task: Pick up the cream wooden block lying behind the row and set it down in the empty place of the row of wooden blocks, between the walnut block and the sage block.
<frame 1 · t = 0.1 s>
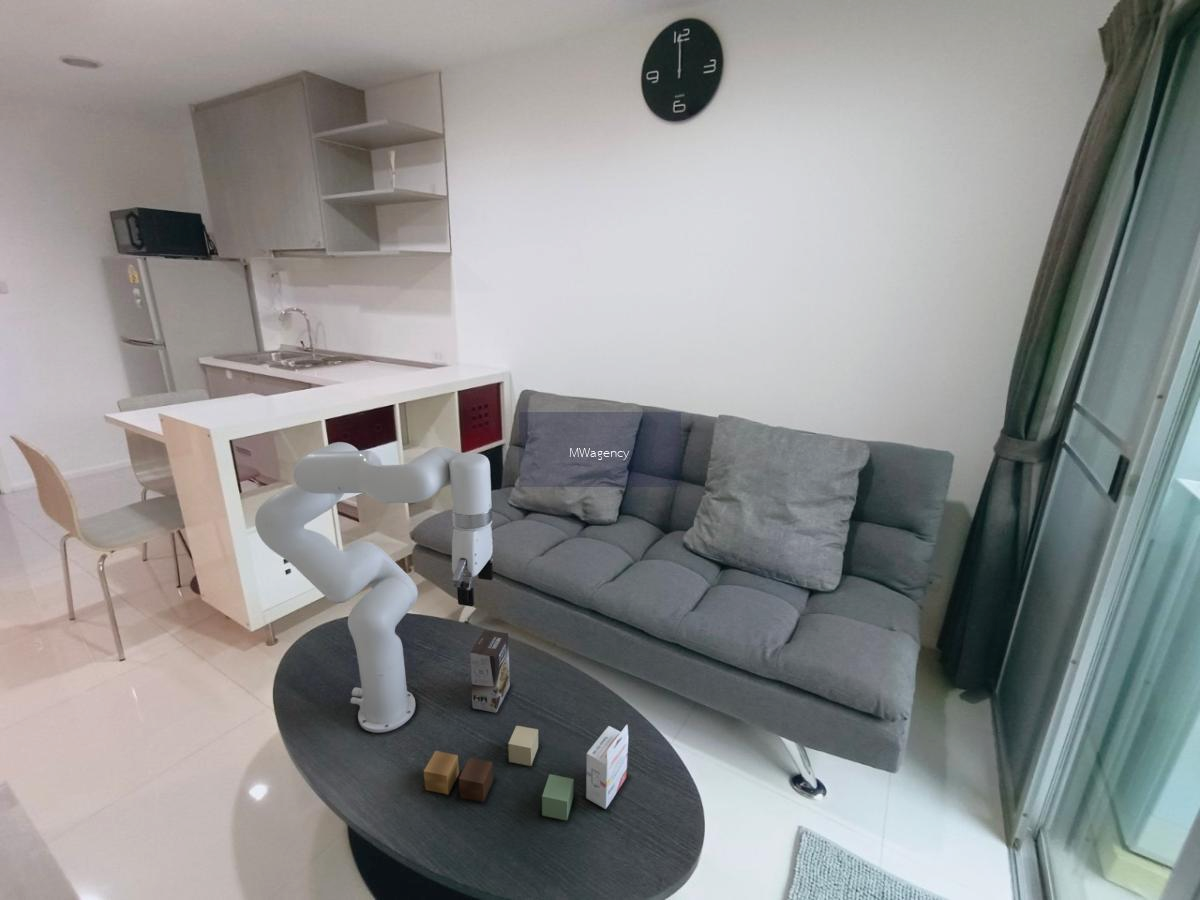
hand: (476, 591, 113), 37 cm above the table, tool pointing down, fingers open, 9 cm apart
cream block: (523, 754, 119), on the table
ink cartridge box: (606, 788, 112), on the table
sage block: (557, 806, 108), on the table
coffee box: (491, 697, 135), on the table
honey block: (442, 781, 113), on the table
walnut block: (476, 788, 111), on the table
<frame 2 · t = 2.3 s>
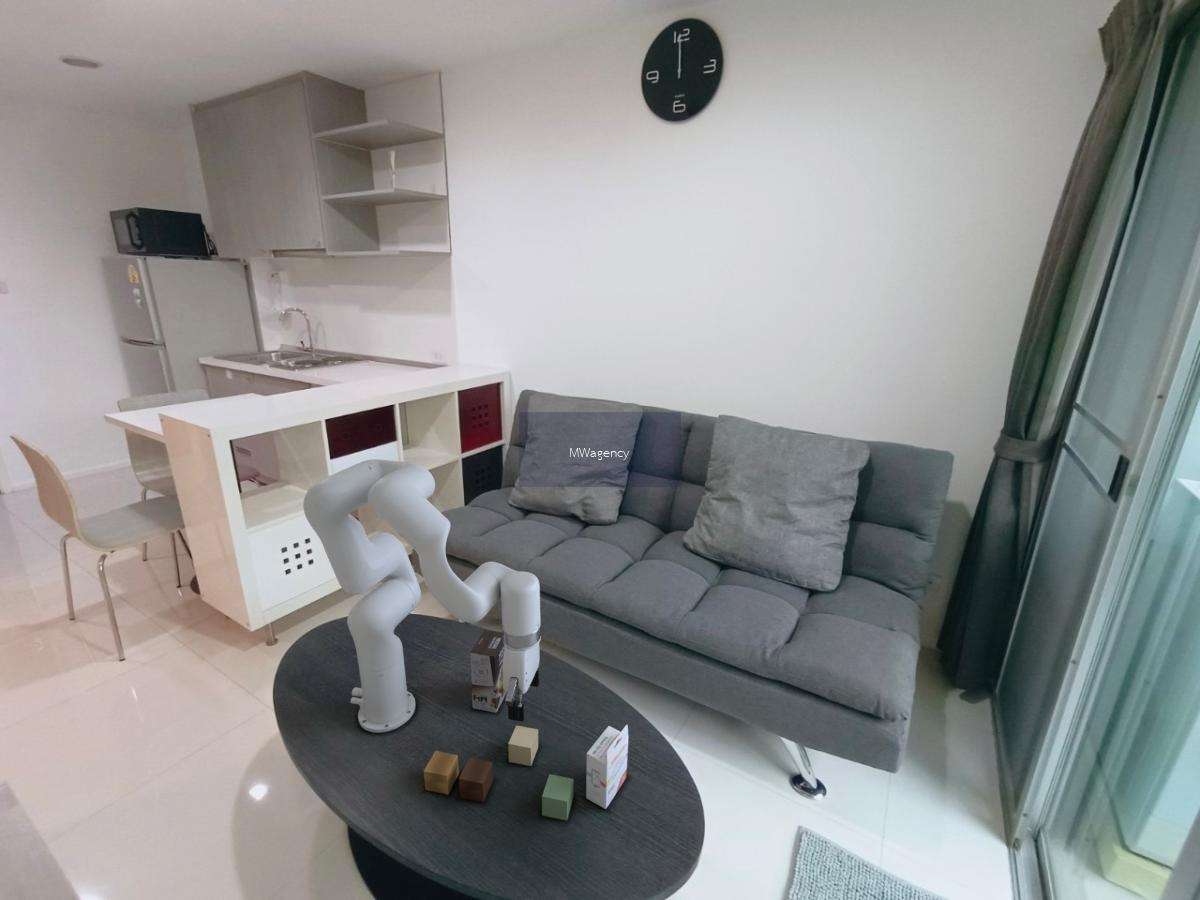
hand: (524, 701, 115), 14 cm above the table, tool pointing down, fingers open, 9 cm apart
nothing on the table moved.
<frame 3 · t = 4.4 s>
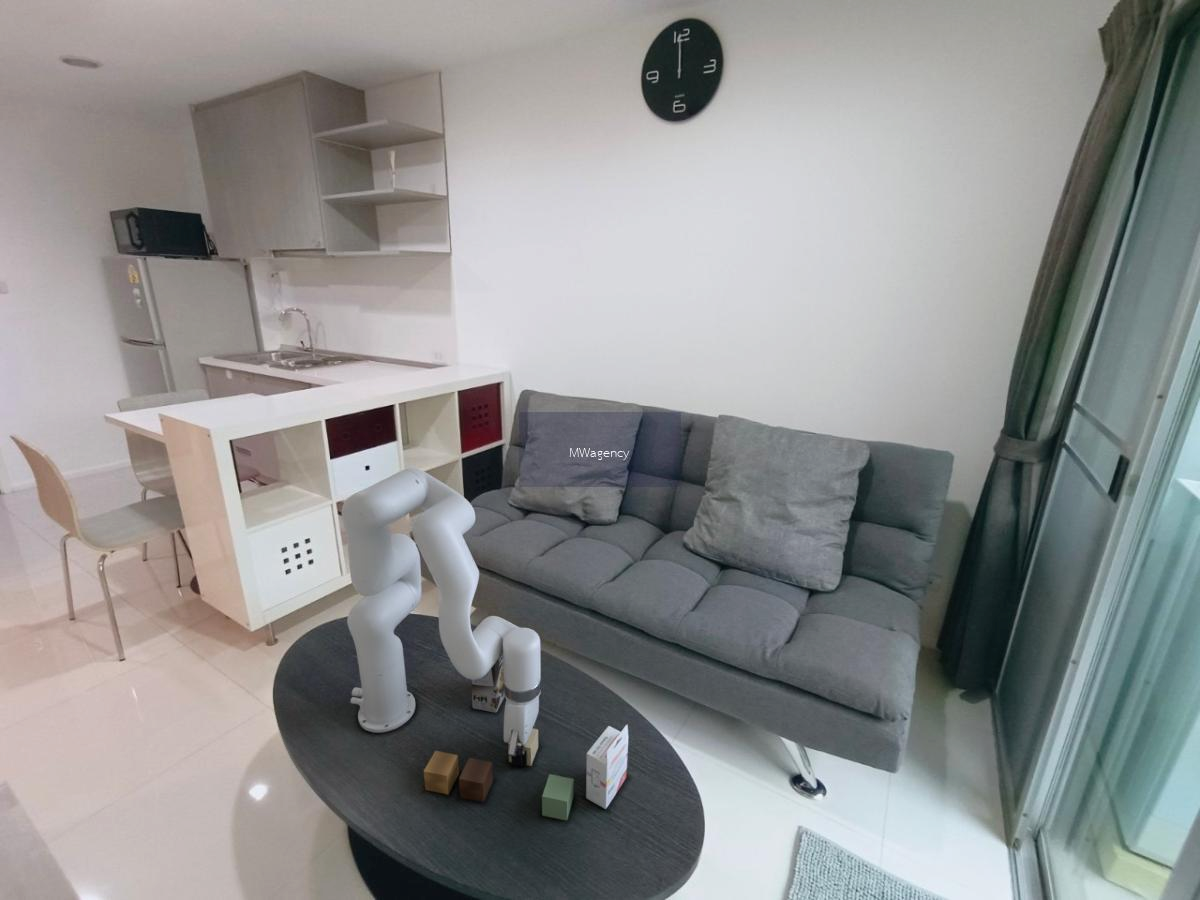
hand: (523, 752, 119), 0 cm above the table, tool pointing down, fingers closed on cream block, 5 cm apart
cream block: (523, 754, 119), on the table, touching gripper
everything else where it was.
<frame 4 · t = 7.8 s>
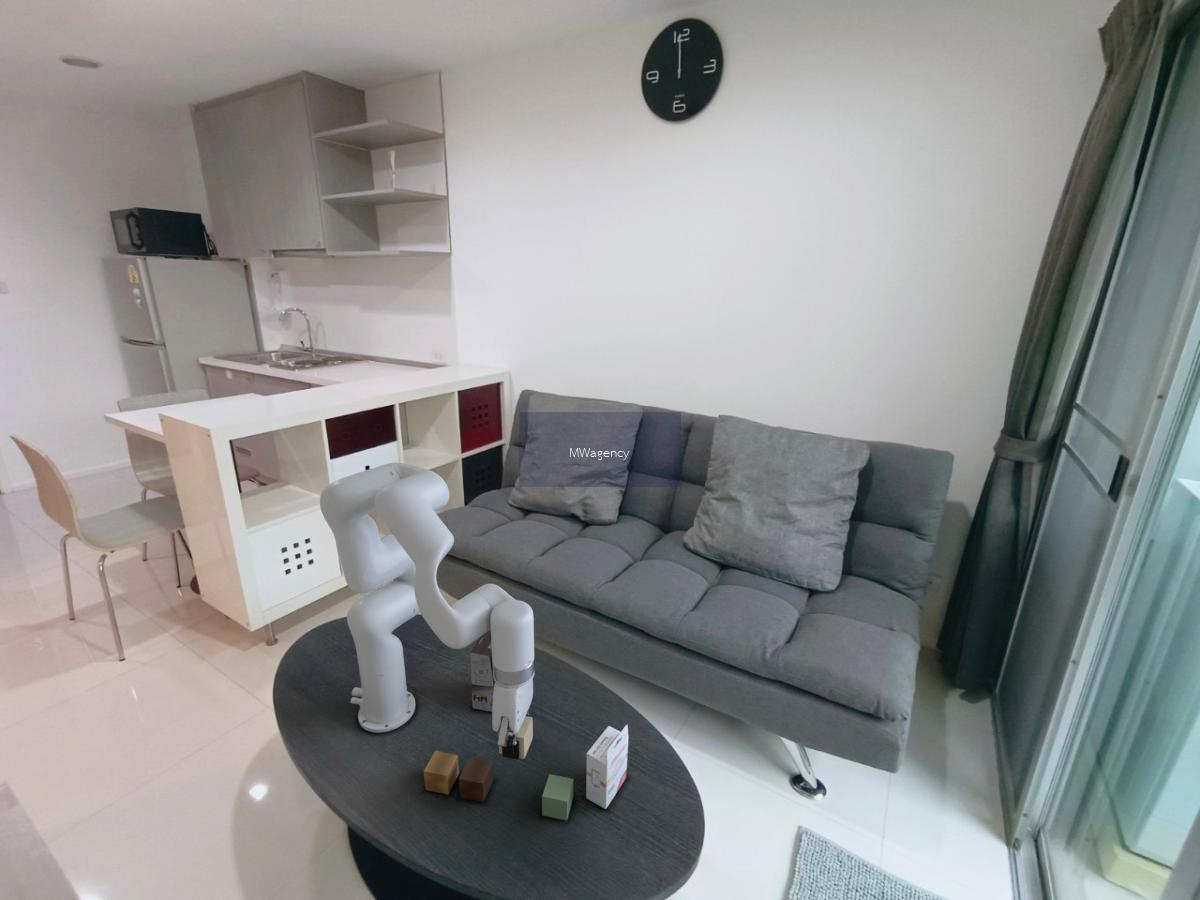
hand: (516, 743, 105), 14 cm above the table, tool pointing down, fingers closed on cream block, 5 cm apart
cream block: (516, 745, 105), point 13 cm above the table, touching gripper
everything else where it was.
when the fingers open (0 cm above the table, at t = 11.1 s): cream block stays where it is, on the table.
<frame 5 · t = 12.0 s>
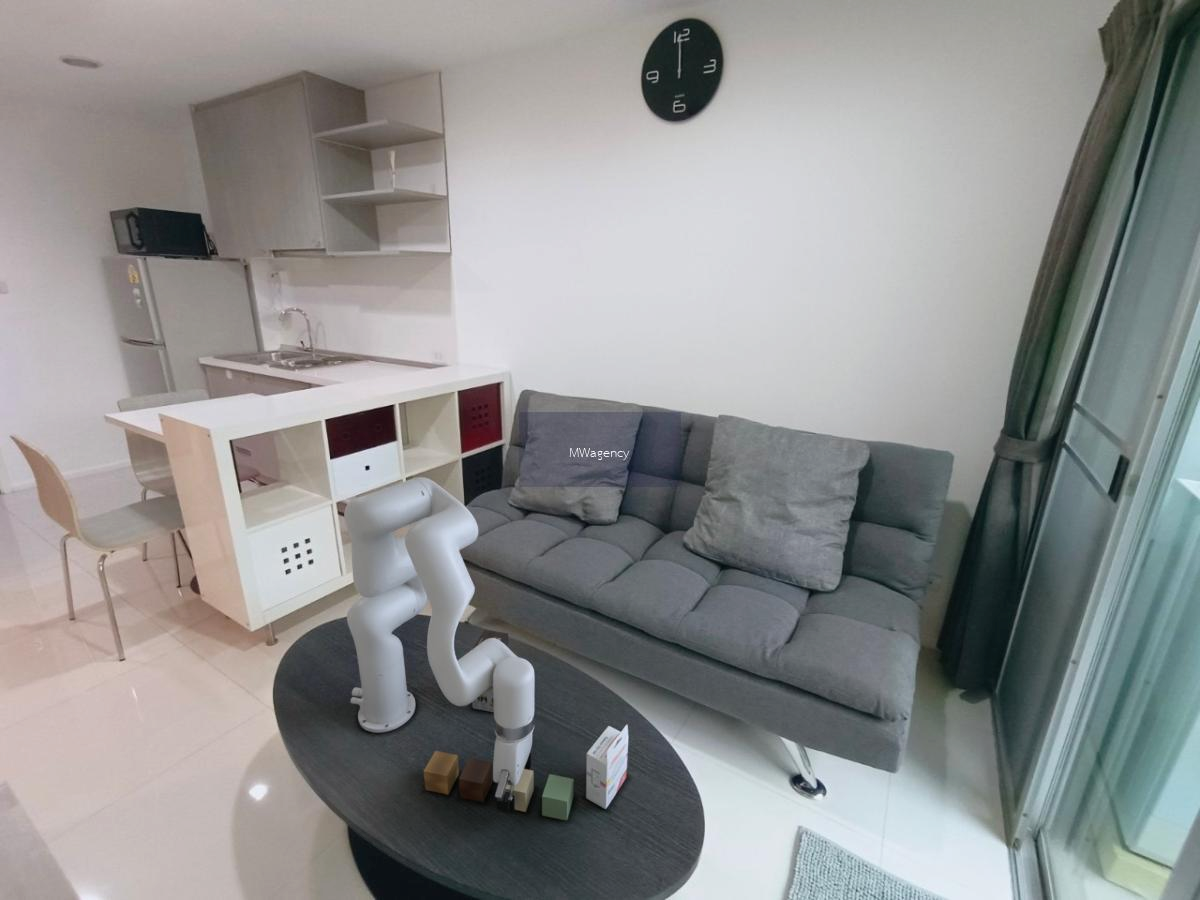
hand: (515, 787, 109), 2 cm above the table, tool pointing down, fingers open, 9 cm apart
cream block: (517, 797, 110), on the table
everything else where it was.
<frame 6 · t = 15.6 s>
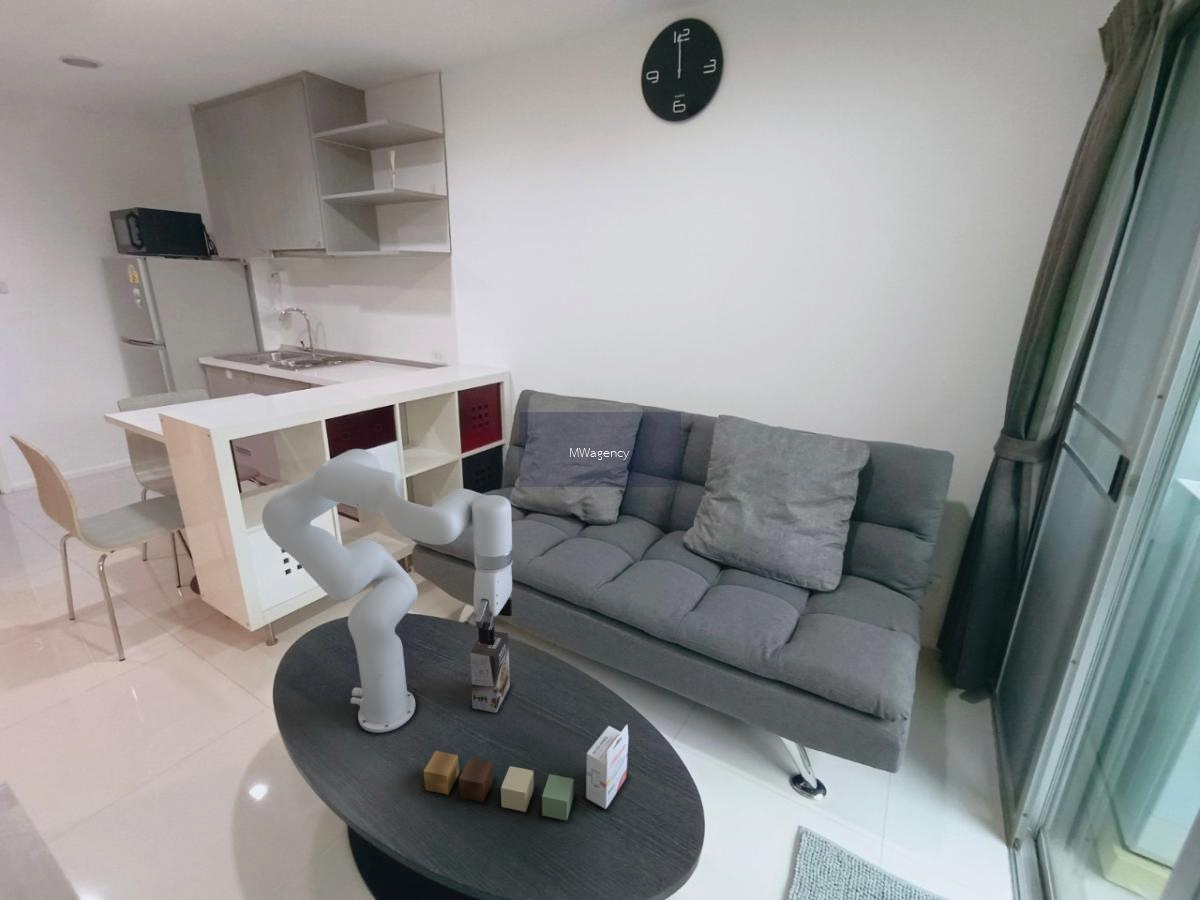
hand: (496, 628, 115), 28 cm above the table, tool pointing down, fingers open, 9 cm apart
nothing on the table moved.
at the end: cream block 0.2 cm from the target spot, on the table; cream block tilted 0°; sage block moved 0.0 cm from its start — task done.
